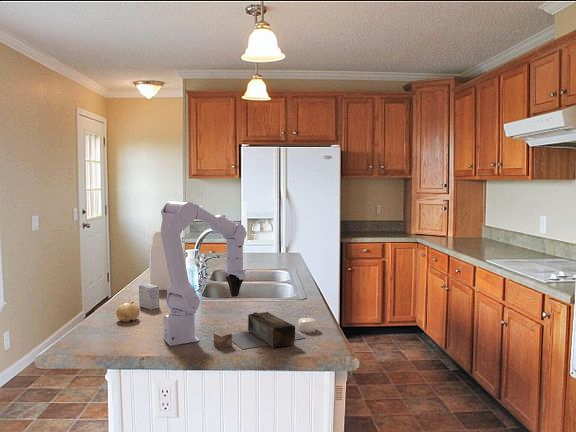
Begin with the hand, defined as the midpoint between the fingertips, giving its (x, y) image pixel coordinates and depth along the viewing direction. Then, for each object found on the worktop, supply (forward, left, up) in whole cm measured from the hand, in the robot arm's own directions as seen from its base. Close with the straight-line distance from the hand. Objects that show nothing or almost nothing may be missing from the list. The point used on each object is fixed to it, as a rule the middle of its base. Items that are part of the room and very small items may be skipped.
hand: (234, 296), depth 179 cm
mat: (+3, -19, -10) cm, 21 cm away
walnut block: (-12, -20, -10) cm, 25 cm away
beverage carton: (+4, -20, -10) cm, 23 cm away
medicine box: (-21, +35, -10) cm, 43 cm away
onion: (-32, +21, -10) cm, 40 cm away
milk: (-7, +67, -10) cm, 69 cm away
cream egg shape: (+19, -18, -10) cm, 28 cm away
